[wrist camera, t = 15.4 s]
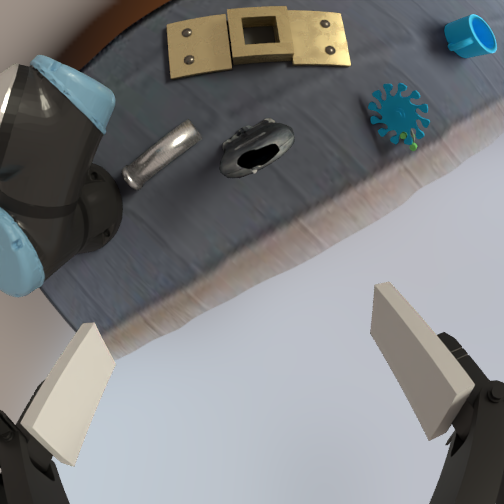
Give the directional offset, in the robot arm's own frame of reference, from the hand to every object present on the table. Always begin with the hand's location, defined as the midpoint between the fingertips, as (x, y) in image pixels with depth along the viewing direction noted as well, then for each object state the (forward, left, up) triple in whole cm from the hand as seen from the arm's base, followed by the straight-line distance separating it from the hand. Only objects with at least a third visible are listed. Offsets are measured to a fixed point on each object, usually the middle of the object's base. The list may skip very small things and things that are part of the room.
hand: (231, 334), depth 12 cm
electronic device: (+3, +8, -33) cm, 34 cm away
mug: (+45, +30, -33) cm, 63 cm away
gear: (+23, +10, -34) cm, 42 cm away
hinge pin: (-5, +11, -31) cm, 33 cm away
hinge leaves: (+6, +25, -32) cm, 41 cm away
